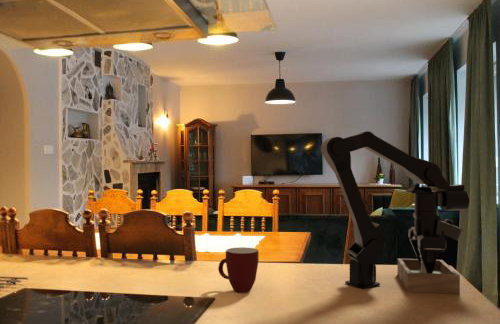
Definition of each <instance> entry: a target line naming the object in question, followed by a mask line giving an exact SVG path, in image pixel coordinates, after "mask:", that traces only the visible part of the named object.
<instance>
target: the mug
mask: <svg viewBox="0 0 500 324" xmlns="http://www.w3.org/2000/svg"><path fill="white" fill-rule="evenodd" d="M259 254H260V253H259V249H258V248H254V247H245V246H244V247H241V246H240V247H231V248H228V249H226V250H225V258H223V259H221V261H220V262H219V264H218V269H217V270H218V273H219V276H221V277H222V278H223V279H226V280H228V281H229V284H230V286H231V288H232V289H233V292H235V293H239V294H246V293H249V292H250V291H251V290H252V288H253V287H254V284H255V282H256V279H257V272H258V265H259V258H260V257H259ZM224 265H226V271H227V274H226V273H225V272H224Z"/></svg>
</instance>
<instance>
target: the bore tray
mask: <svg viewBox="0 0 500 324" xmlns="http://www.w3.org/2000/svg"><path fill="white" fill-rule="evenodd" d="M420 270H421V266H420V264H419V261H418V259H417V258H397V276H398V278H399V280H400V282H401V283H402V284H403V286H404V288H405V289H406V292H408V293H426V294H427V293H431V294H448V295H449V294H450V295H461V291H460V290H461V289H460V288H461V282H460V278H461V277H460V274H459V273H458V272H457V271H456V270H454V269H453V268H452V267H451V266H450V265H449V264H447V263H446V262H445V261H444V260H443V259H436V262H435V266H434V270H433V273H420Z"/></svg>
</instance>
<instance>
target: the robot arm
mask: <svg viewBox="0 0 500 324" xmlns="http://www.w3.org/2000/svg"><path fill="white" fill-rule="evenodd" d="M361 149H366V150H368V151H370V153H372V154H374V155H377V156H378V157H379V158H381V159H383V160H385V161H387V162H389V163H390V164H392V165H394V166H396V167H397V168H398V169H400V170H402V172H403V173H404V174H405V175H406V177H408V178H410V179H411V181H413V182H415V183H413V184H411V186H410V187H409V188H408V189H406V193H407V194H413V195H414V213H412V217H413V218H414V226H411V227H410V228H409V229H408V234H407V235H408V238H409V241H410V244H411V245H412V246H411V247H412V248H413V251H414V253H415V256H416V259H418V261H419V264H420V266H421V258H422V261H423V263H424V266H425V269H426V272H427V273H433V270H434V266H435V262H436V260H438V256H439V255H440V254H441V253H443V252H445V251H446V249H447V247H448V245H447V242H448V241H447V240H446V239H445V238H444V237H443V236H446V237H449V238H452V239H453V240H455V241H459V239H460V236H461V234H462V231H463V229H462V228H460V227H458V226H457V225H454V221H453V220H451V219H448V218H445V219H444V220H443V221H442V217H441V216H440V215H439V208H440V209H441V210H442V211H466V210H468V208H469V205H470V197H469V195H468V191H467V190H466V189H465V184H449V183H448V181H447V180H446V179H445V177H444V176H443V174H442V169H441V167H440V165H438V164H437V163H435V162H432V161H429V160H426V159H422V158H419V157H415V156H413V155H410V154H408V153H406V152H405V151H404V150H401V149H400V148H398V147H396V146H395V145H393V144H392V143H389V142H387V141H386V140H384V139H382V138H380V137H379V136H377V135H376V134H374V133H373V132H371V131H368V130H367V131H361V132H359V133H357V134H354V135H350V136H347V137H341V136H335V137H330V138H327V139H325V140H324V141H322V143H321V146H320V151H321V154H322V157H323V158H324V160H325V162H326V163H327V165H328V166H329V168H330V169H331V170H332V171H333V173H334V174H335V177H336V180H337V182H338V183H337V184H338V186H339V188H340V190H341V193H342V197H343V199H344V200H345V204H346V207H347V209H348V212H349V215H350V217H351V221H352V224H353V236H354V241H355V242H353V244H351V246H349V248H347V249H346V252H347V254H348V257H349V258H350V259H351V260H349V280H345V282H344V284H347V285H350V286H353V287H358V288H360V289H367V288H372V287H377V286H378V287H379V286H381V283H380V282H377V265H376V264H377V263H378V261H379V259H380V256H381V255H382V254H383V253H384V252H385V249H386V242H385V241H387V238H386V237H385V236H384V233H383V229H382V225H380V224H378V223H376V222H373V221H372V220H371V218H370V216H369V213H368V210H367V208H366V204H365V203H364V199H363V197H362V194H361V191H360V189H359V186H358V183H357V180H356V177H355V175H354V172H353V170H352V156H351V152H354V151H357V150H361ZM418 184H419V185H425V186H419V185H418ZM431 188H432V189H437V190H432V189H431ZM442 235H443V236H442ZM420 255H421V258H420Z"/></svg>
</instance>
